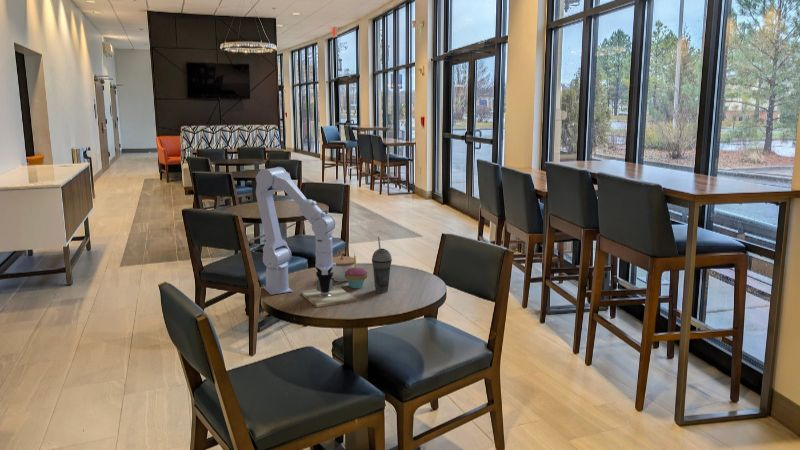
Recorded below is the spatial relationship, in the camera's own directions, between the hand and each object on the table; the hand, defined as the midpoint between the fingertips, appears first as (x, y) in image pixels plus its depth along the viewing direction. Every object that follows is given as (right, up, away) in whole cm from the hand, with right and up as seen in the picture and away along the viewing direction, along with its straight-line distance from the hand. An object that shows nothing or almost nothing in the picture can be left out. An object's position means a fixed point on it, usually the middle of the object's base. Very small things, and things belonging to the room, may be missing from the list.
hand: (324, 289), depth 203 cm
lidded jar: (+4, +1, +23) cm, 23 cm away
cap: (0, 0, 0) cm, 0 cm away
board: (+1, -3, +1) cm, 3 cm away
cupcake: (+10, -1, +14) cm, 17 cm away
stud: (0, -3, +1) cm, 3 cm away
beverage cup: (+19, -2, +9) cm, 21 cm away
